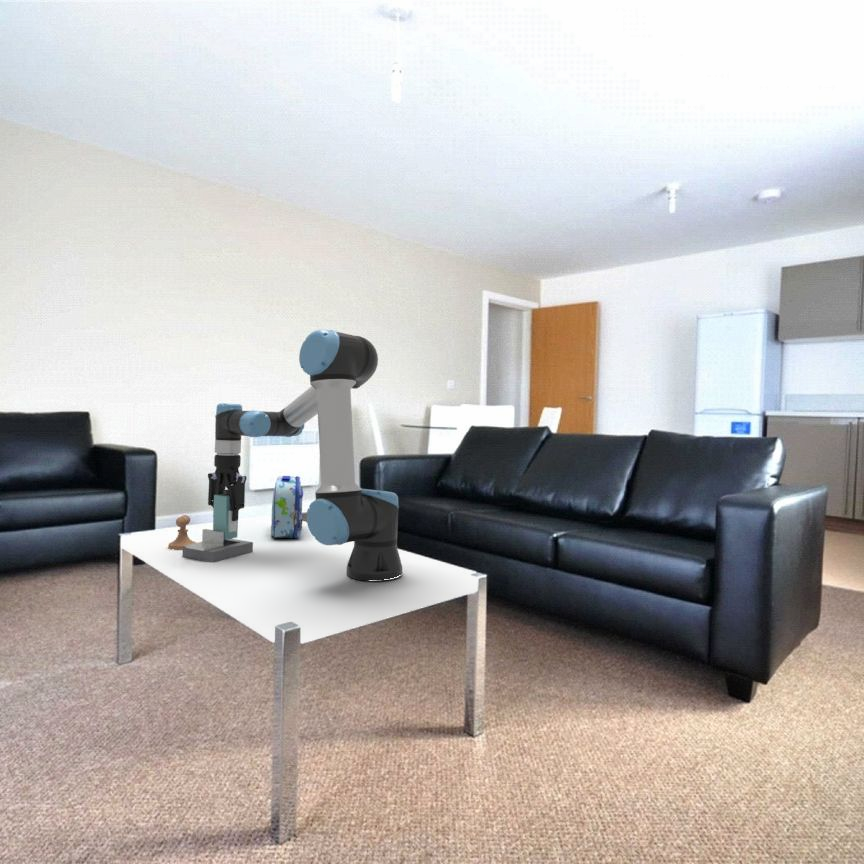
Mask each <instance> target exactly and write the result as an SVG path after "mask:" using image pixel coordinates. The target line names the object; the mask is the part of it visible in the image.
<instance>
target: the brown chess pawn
mask: <svg viewBox="0 0 864 864" xmlns="http://www.w3.org/2000/svg"><path fill="white" fill-rule="evenodd" d="M190 522H191V517H190V516H189V515H187V514H185V515H184V514H183V515H181V516H180V517H178V518H177V519H176V520H175V525H176V526H177V527H178V528H179V529H178V530H177V533H178V534H177V536H176V538H175V539H174V540H173V541H171V542H169V543H168V547H169V548H170V549H169V548H168V549H169V550H172V549H174V550H173V551H183V546H186V545H189V544H193V543H197V542H196V541H193V540H192V539H191V538H190V537H189V536H188V532H189V530H188V529H187V527H186V526H187V525H189V524H190Z"/></svg>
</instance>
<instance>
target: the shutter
mask: <svg viewBox="0 0 864 864" xmlns="http://www.w3.org/2000/svg"><path fill="white" fill-rule="evenodd" d="M201 536H202V541H199V542H196V543H193V544H189V545H186V548H190V549H195V550H201V551H206V550H211V549H215V548H219V547H223V538H224V532H222V531H216V530H213V529H210V528H209V529H208V528H204V529H202V535H201Z"/></svg>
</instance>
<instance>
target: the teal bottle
mask: <svg viewBox="0 0 864 864" xmlns="http://www.w3.org/2000/svg"><path fill="white" fill-rule="evenodd" d="M229 509H231V506H230V496H229V493H228V489H225V490H224V492H223V494H221V495H214V514H213V513H212V516H213V517H212V521H213V522H212V523H213V524H212V530H216V531H222V532H224V538H223V540H228V539H236V538H238V527H239V520H238V521H237V531H234V532H228V519H229Z"/></svg>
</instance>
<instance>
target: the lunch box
mask: <svg viewBox="0 0 864 864" xmlns="http://www.w3.org/2000/svg"><path fill="white" fill-rule="evenodd" d="M301 484H302V483H301V477H300V476H298V475H297V476H293V475H282V476H281V475H278V476H277V478H276V481H275V484H274V488H273V493H272V502H271V503H272V504H271V525H270V535H272V536H271V537H272V538H274V539H275V538H279V539H283V538H288V539H293V538H294V539H296V540H298V539H299V538H300V536H301V531H303V518H302V516H303V497H304V490H303V487H302V485H301Z"/></svg>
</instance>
